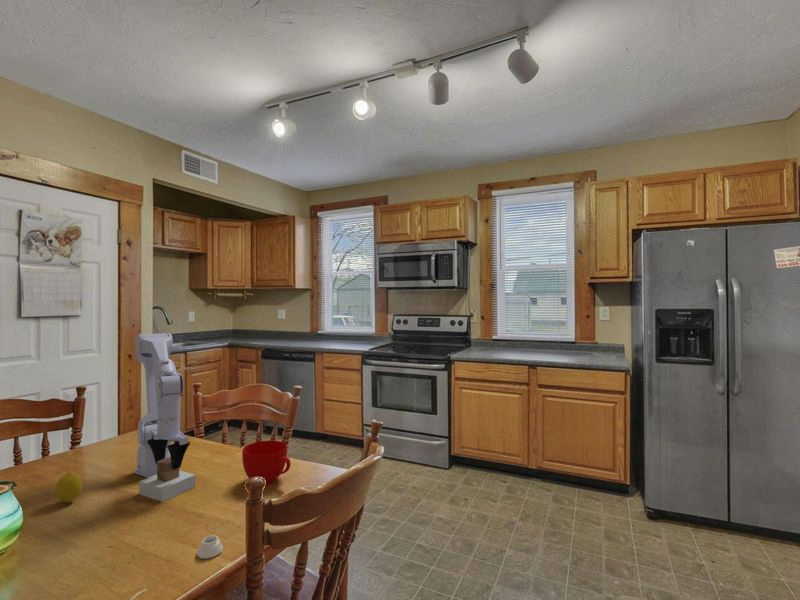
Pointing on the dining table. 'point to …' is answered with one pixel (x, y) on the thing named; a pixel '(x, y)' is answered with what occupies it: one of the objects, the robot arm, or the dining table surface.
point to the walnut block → (166, 470)
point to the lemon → (69, 487)
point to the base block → (166, 486)
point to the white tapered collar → (209, 547)
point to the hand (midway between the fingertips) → (168, 465)
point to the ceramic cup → (265, 460)
